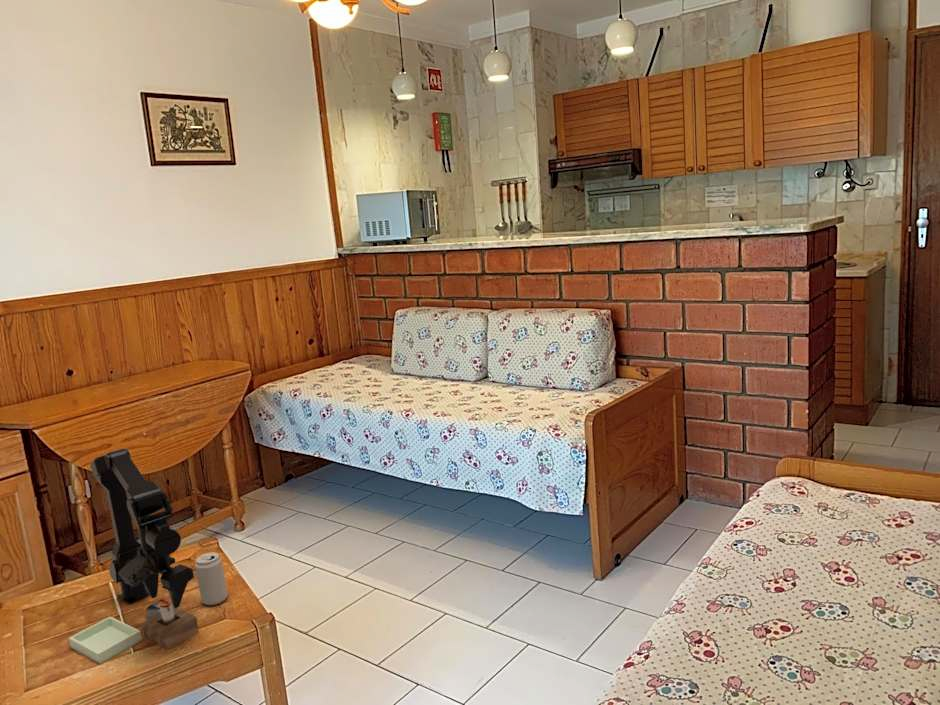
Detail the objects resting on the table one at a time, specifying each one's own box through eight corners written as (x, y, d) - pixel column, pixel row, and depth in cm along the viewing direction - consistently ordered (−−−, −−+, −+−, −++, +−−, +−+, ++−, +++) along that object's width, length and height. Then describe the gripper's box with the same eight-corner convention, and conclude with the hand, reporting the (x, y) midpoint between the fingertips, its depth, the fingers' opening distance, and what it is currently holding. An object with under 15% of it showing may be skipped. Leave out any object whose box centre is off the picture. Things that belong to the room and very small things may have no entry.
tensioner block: (144, 637, 176) (141, 622, 175) (174, 620, 182) (171, 605, 182) (168, 649, 170) (165, 634, 170) (198, 631, 177) (196, 616, 176)
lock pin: (162, 636, 176) (156, 601, 174) (173, 630, 178) (167, 596, 176) (169, 639, 174) (163, 604, 173) (180, 633, 177) (173, 598, 175)
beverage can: (219, 607, 187) (212, 563, 184) (196, 606, 188) (189, 563, 186) (232, 594, 193) (225, 551, 190) (210, 593, 194) (202, 551, 192)
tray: (70, 647, 175) (68, 638, 174) (112, 625, 183) (110, 616, 182) (100, 664, 167) (98, 654, 167) (142, 640, 175) (140, 630, 175)
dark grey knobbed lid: (141, 618, 185) (139, 607, 184) (167, 605, 190) (165, 593, 189) (157, 626, 181) (155, 614, 180) (183, 612, 186) (181, 600, 185)
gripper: (98, 547, 171) (111, 609, 174) (144, 565, 160) (157, 630, 163) (143, 527, 179) (154, 586, 183) (189, 543, 169) (200, 606, 172)
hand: (165, 602), depth 175 cm, fingers open, 9 cm apart
